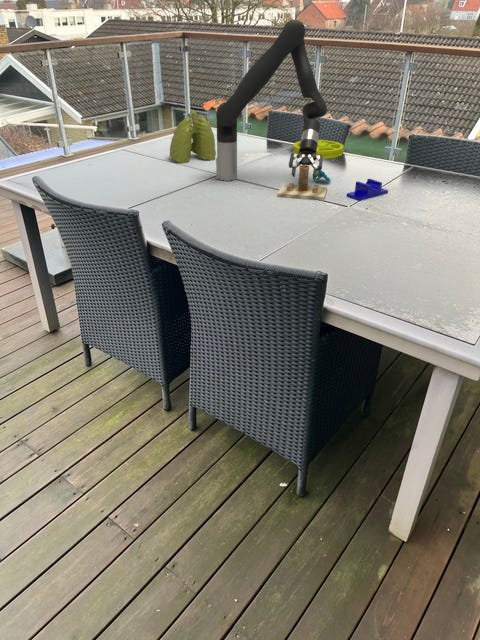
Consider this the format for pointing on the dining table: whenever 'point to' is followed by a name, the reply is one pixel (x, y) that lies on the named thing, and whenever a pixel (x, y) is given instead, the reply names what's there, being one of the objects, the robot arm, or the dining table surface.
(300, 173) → the pin
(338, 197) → the dining table surface
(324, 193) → the plate
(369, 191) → the mounting bracket
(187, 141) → the lungs
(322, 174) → the gear
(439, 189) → the dining table surface
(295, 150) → the pulley
